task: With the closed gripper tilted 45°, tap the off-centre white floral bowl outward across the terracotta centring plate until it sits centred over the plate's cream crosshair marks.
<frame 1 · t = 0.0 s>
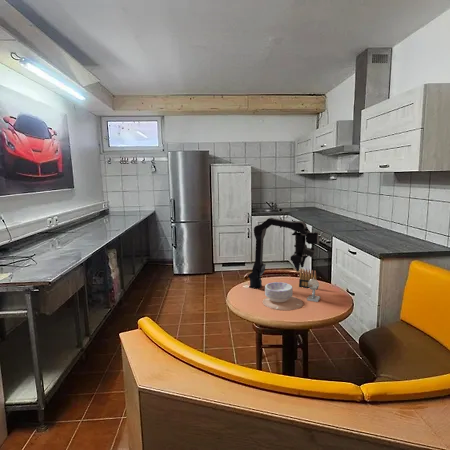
hand: (300, 269, 194), 15 cm above the table, tool pointing down, fingers open, 9 cm apart
white floral bowl: (278, 300, 186), resting on centring plate
ammunition clip: (307, 288, 206), on the table
centring plate: (282, 302, 183), on the table
dial gauge stand: (313, 299, 186), on the table
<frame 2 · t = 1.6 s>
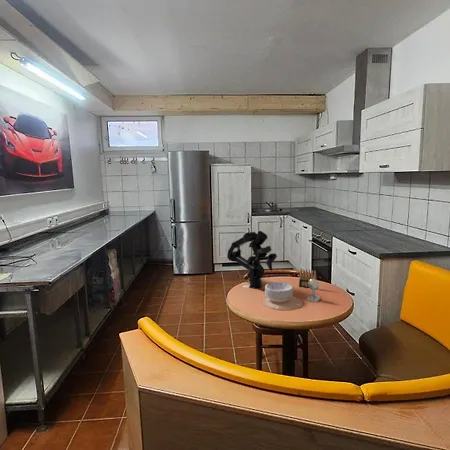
hand: (267, 271, 196), 14 cm above the table, tool tilted 45°, fingers open, 6 cm apart
nothing on the table moved.
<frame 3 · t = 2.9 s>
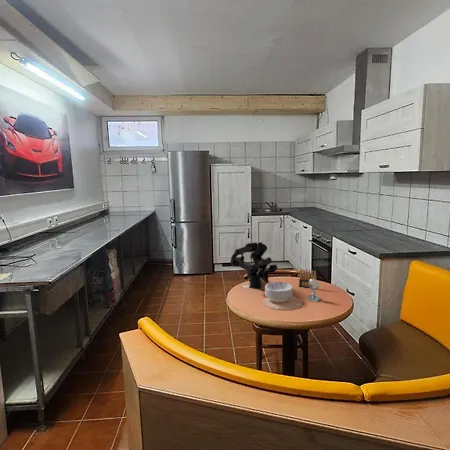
hand: (267, 282, 196), 7 cm above the table, tool tilted 45°, fingers closed
nothing on the table moved.
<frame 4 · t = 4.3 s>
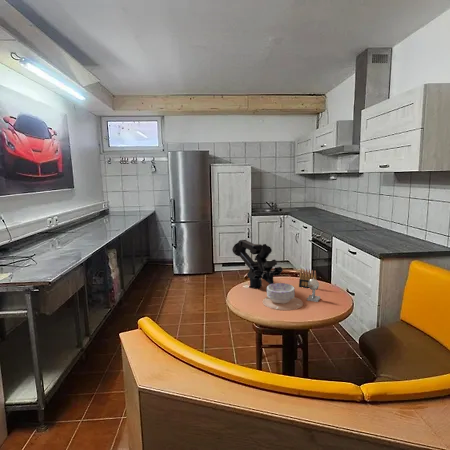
hand: (272, 285, 191), 7 cm above the table, tool tilted 45°, fingers closed, pressing on white floral bowl
white floral bowl: (280, 301, 185), resting on centring plate, touching gripper
everything else where it was.
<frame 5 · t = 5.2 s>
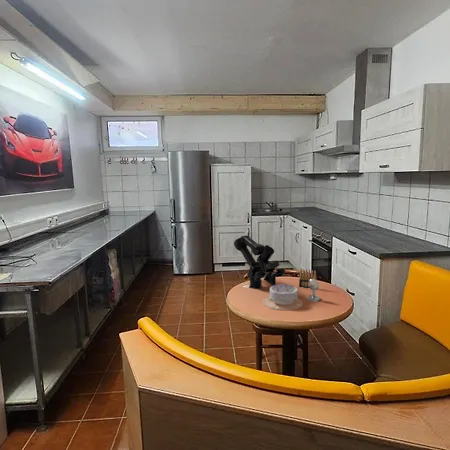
hand: (275, 287, 188), 7 cm above the table, tool tilted 45°, fingers closed
white floral bowl: (283, 302, 182), resting on centring plate, touching gripper
everything else where it was.
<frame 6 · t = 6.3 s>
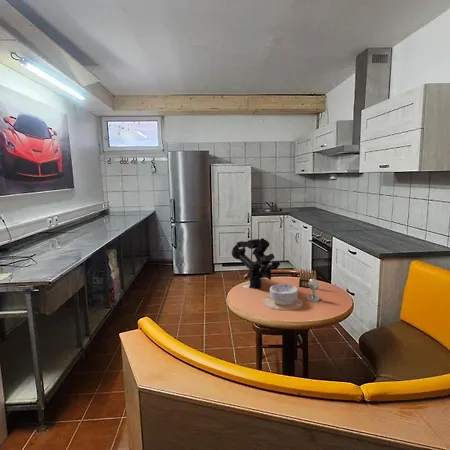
hand: (270, 279, 193), 10 cm above the table, tool tilted 45°, fingers closed
white floral bowl: (283, 302, 182), resting on centring plate
everything else where it was.
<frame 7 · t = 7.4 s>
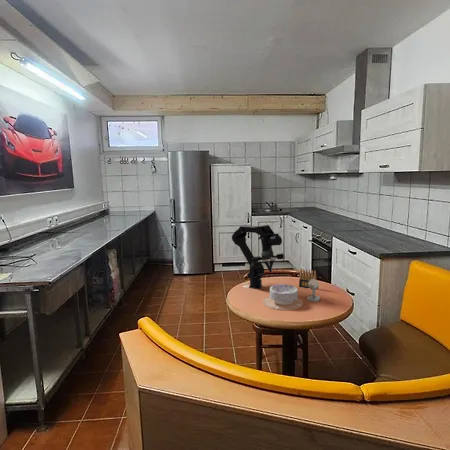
hand: (270, 272, 198), 12 cm above the table, tool pointing down, fingers closed
nothing on the table moved.
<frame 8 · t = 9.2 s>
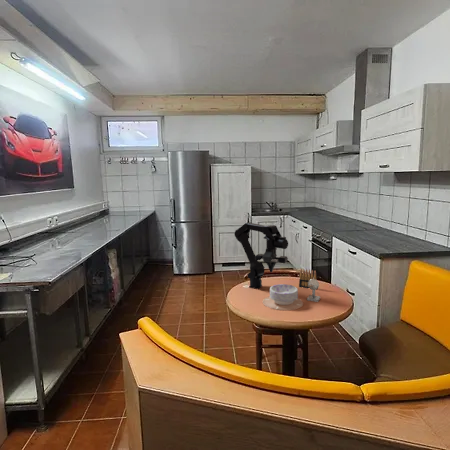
hand: (271, 272, 199), 12 cm above the table, tool pointing down, fingers closed
nothing on the table moved.
at the end: white floral bowl 0.5 cm from the centring plate (horizontally); white floral bowl tilted 0° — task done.
